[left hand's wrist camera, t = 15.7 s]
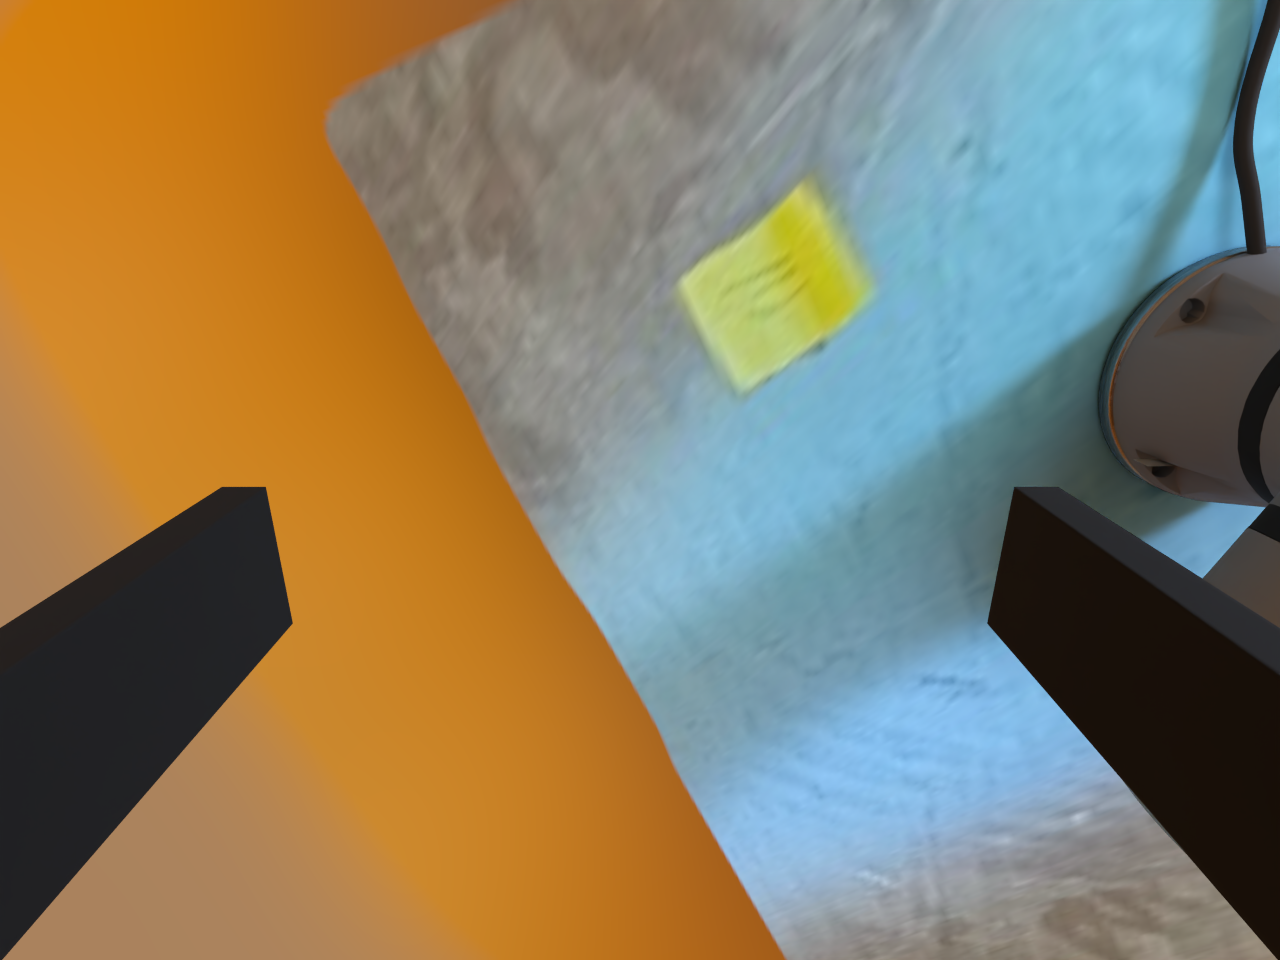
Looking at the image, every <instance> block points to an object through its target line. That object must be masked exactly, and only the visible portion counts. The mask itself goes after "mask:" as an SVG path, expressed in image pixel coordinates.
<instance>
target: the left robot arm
mask: <svg viewBox="0 0 1280 960" xmlns="http://www.w3.org/2000/svg"><path fill="white" fill-rule="evenodd" d="M1279 29H1280V0H1268V2H1267V5H1266V9H1265V13H1264V16H1263V20H1262V23H1261V26H1260V30H1259V33H1258V36H1257V39H1256V42H1255V45H1254V49H1253V52H1252V55H1251V58H1250V61H1249V64H1248V67H1247V71H1246V74H1245V78H1244V81H1243V85H1242V89H1241V93H1240V97H1239V102H1238V106H1237V112H1236V119H1235V127H1234V137H1233V154H1234V163H1235V169H1236V174H1237V179H1238V184H1239V189H1240V195H1241V202H1242V211H1243V220H1244V229H1245V238H1246V247H1242V248H1237V249H1232V250H1228V251H1224V252H1221V253H1218V254H1215V255H1212V256H1210V257H1208V258H1205V259H1203V260H1201V261H1198V262H1196V263H1195V264H1193V265H1191V266H1189V267H1187V268H1185V269H1184V270H1182V271H1180V272H1179V273H1177V274H1176V275H1174V276H1173V277H1171V278H1170V279H1169V280H1167V281H1166V282H1165V283H1163V284H1162V285H1161V286H1160V287H1159V288H1157V289H1156V290H1155V291H1154V292H1153V293H1152V294H1151V295H1150V296H1149V297H1148V298H1147V299H1146V300H1145V301H1144V302H1143V303H1142V304H1141V305H1140V306H1139V307H1138V308H1137V310H1136V311H1135V312H1134V313H1133V314H1132V316H1131V317H1130V318H1129V320H1128V321H1127V323H1126V324H1125V325H1124V327H1123V328H1122V330H1121V332H1120V333H1119V335H1118V337H1117V338H1116V340H1115V342H1114V344H1113V347H1112V349H1111V351H1110V353H1109V356H1108V358H1107V361H1106V364H1105V367H1104V370H1103V374H1102V379H1101V384H1100V391H1099V414H1100V422H1101V426H1102V430H1103V433H1104V436H1105V438H1106V441H1107V443H1108V445H1109V447H1110V449H1111V451H1112V452H1113V454H1114V455H1115V456H1116V458H1117V459H1118V460H1119V461H1120V463H1121V464H1122V465H1123V466H1124V467H1125V468H1126V469H1128V470H1129V471H1130V472H1131V473H1133V474H1134V475H1135V476H1137V477H1138V478H1140V479H1142V480H1144V481H1146V482H1148V483H1150V484H1152V485H1154V486H1156V487H1157V488H1159V489H1161V490H1164V491H1166V492H1169V493H1172V494H1175V495H1179V496H1182V497H1185V498H1189V499H1193V500H1199V501H1207V502H1217V503H1228V504H1238V505H1249V506H1259V507H1266V508H1265V509H1264V510H1263V511H1262V513H1261V514H1260V515H1259V516H1258V517H1257V518H1256V519H1255V520H1254V522H1253V523H1252V524H1251V525H1250V526H1249V527H1248V528H1247V529H1246V530H1245V531H1244V532H1243V533H1242V534H1241V536H1240V537H1239V538H1238V539H1237V540H1236V541H1235V542H1234V544H1233V545H1232V546H1231V547H1230V548H1229V549H1228V550H1227V552H1226V553H1225V554H1224V555H1223V556H1222V557H1221V558H1220V560H1219V561H1218V562H1217V563H1216V564H1215V565H1214V566H1213V568H1212V569H1211V570H1210V571H1209V572H1208V573H1207V574H1206V575H1205V576H1204V577H1203V579H1202V578H1200V577H1199V576H1197V575H1196V574H1194V573H1192V572H1191V571H1189V570H1188V569H1186V568H1185V567H1183V566H1181V565H1180V564H1178V563H1177V562H1175V561H1174V560H1172V559H1170V558H1169V557H1167V556H1166V555H1164V554H1163V553H1161V552H1159V551H1158V550H1156V549H1155V548H1153V547H1152V546H1150V545H1148V544H1147V543H1145V542H1144V541H1142V540H1141V539H1139V538H1137V537H1136V536H1134V535H1133V534H1131V533H1130V532H1128V531H1126V530H1125V529H1123V528H1122V527H1120V526H1119V525H1117V524H1115V523H1114V522H1112V521H1111V520H1109V519H1108V518H1106V517H1104V516H1103V515H1101V514H1100V513H1098V512H1097V511H1095V510H1093V509H1092V508H1090V507H1089V506H1087V505H1085V504H1084V503H1082V502H1081V501H1079V500H1078V499H1076V498H1074V497H1073V496H1071V495H1070V494H1068V493H1067V492H1065V491H1063V490H1062V489H1060V488H1059V487H1014V491H1013V496H1012V501H1011V506H1010V511H1009V516H1008V521H1007V526H1006V531H1005V536H1004V541H1003V547H1002V552H1001V557H1000V562H999V567H998V572H997V577H996V582H995V587H994V592H993V597H992V602H991V607H990V612H989V617H988V622H987V624H988V625H989V626H990V627H991V628H992V629H993V631H994V632H995V633H996V634H997V635H998V636H999V638H1000V639H1001V640H1002V641H1003V642H1004V643H1005V644H1006V646H1007V647H1008V648H1009V649H1010V650H1011V651H1012V653H1013V654H1014V655H1015V656H1016V657H1017V658H1018V659H1019V661H1020V662H1021V663H1022V664H1023V665H1024V666H1025V668H1026V669H1027V670H1028V671H1029V672H1030V673H1031V675H1032V676H1033V677H1034V678H1035V679H1036V680H1037V681H1038V683H1039V684H1040V685H1041V686H1042V687H1043V688H1044V690H1045V691H1046V692H1047V693H1048V694H1049V695H1050V697H1051V698H1052V699H1053V700H1054V701H1055V702H1056V703H1057V705H1058V706H1059V707H1060V708H1061V709H1062V710H1063V712H1064V713H1065V714H1066V715H1067V716H1068V717H1069V719H1070V720H1071V721H1072V722H1073V723H1074V724H1075V725H1076V727H1077V728H1078V729H1079V730H1080V731H1081V732H1082V734H1083V735H1084V736H1085V737H1086V738H1087V739H1088V741H1089V742H1090V743H1091V744H1092V745H1093V746H1094V747H1095V749H1096V750H1097V751H1098V752H1099V753H1100V754H1101V756H1102V757H1103V758H1104V759H1105V760H1106V761H1107V763H1108V764H1109V765H1110V766H1111V767H1112V768H1113V769H1114V771H1115V772H1116V773H1117V774H1118V775H1119V776H1120V778H1121V779H1122V780H1123V781H1124V783H1125V784H1126V785H1127V787H1128V788H1129V790H1130V791H1131V792H1132V794H1133V795H1134V796H1135V798H1136V799H1137V800H1138V801H1139V803H1140V804H1141V805H1142V806H1143V807H1144V809H1145V810H1146V811H1147V812H1148V813H1149V815H1150V816H1151V817H1152V818H1153V819H1154V820H1155V821H1156V823H1157V824H1158V825H1159V826H1160V827H1161V828H1162V829H1163V830H1164V831H1165V833H1166V834H1167V835H1168V836H1169V837H1170V838H1171V839H1172V840H1173V841H1174V842H1175V843H1176V844H1177V845H1178V846H1179V847H1180V848H1181V849H1182V850H1183V851H1184V852H1185V853H1186V854H1187V855H1188V856H1189V857H1190V859H1191V860H1192V861H1193V862H1194V863H1195V864H1196V866H1197V867H1198V868H1199V869H1200V870H1201V871H1202V873H1203V874H1204V875H1205V876H1206V877H1207V878H1208V879H1209V881H1210V882H1211V883H1212V884H1213V885H1214V886H1215V888H1216V889H1217V890H1218V891H1219V892H1220V893H1221V895H1222V896H1223V897H1224V898H1225V899H1226V900H1227V901H1228V903H1229V904H1230V905H1231V906H1232V907H1233V908H1234V910H1235V911H1236V912H1237V913H1238V914H1239V915H1240V917H1241V918H1242V919H1243V920H1244V921H1245V922H1246V923H1247V925H1248V926H1249V927H1250V928H1251V929H1252V930H1253V932H1254V933H1255V934H1256V935H1257V936H1258V937H1259V939H1260V940H1261V941H1262V942H1263V943H1264V944H1265V945H1266V947H1267V948H1268V949H1269V950H1270V951H1271V952H1272V954H1273V955H1274V956H1275V957H1276V958H1277V959H1278V960H1280V246H1266V240H1265V230H1264V221H1263V211H1262V202H1261V194H1260V187H1259V181H1258V176H1257V171H1256V166H1255V161H1254V154H1253V130H1254V120H1255V114H1256V108H1257V103H1258V98H1259V93H1260V90H1261V86H1262V82H1263V79H1264V75H1265V72H1266V69H1267V66H1268V62H1269V59H1270V56H1271V53H1272V50H1273V47H1274V44H1275V41H1276V38H1277V35H1278V32H1279ZM291 625H292V617H291V612H290V607H289V602H288V597H287V592H286V587H285V582H284V577H283V572H282V567H281V562H280V557H279V552H278V547H277V542H276V536H275V531H274V526H273V521H272V516H271V512H270V506H269V501H268V496H267V491H266V487H221V488H220V489H218V490H217V491H215V492H213V493H212V494H210V495H209V496H207V497H206V498H204V499H202V500H201V501H199V502H198V503H196V504H195V505H193V506H191V507H190V508H188V509H187V510H185V511H183V512H182V513H180V514H179V515H177V516H176V517H174V518H173V519H171V520H169V521H168V522H166V523H165V524H163V525H161V526H160V527H158V528H157V529H155V530H154V531H152V532H151V533H149V534H147V535H146V536H144V537H143V538H141V539H139V540H138V541H136V542H135V543H133V544H132V545H130V546H128V547H127V548H125V549H124V550H122V551H121V552H119V553H117V554H116V555H114V556H113V557H111V558H110V559H108V560H106V561H105V562H103V563H102V564H100V565H99V566H97V567H95V568H94V569H92V570H91V571H89V572H88V573H86V574H84V575H83V576H81V577H80V578H78V579H77V580H75V581H73V582H72V583H70V584H69V585H67V586H66V587H64V588H62V589H61V590H59V591H58V592H56V593H55V594H53V595H51V596H50V597H48V598H47V599H45V600H44V601H42V602H40V603H39V604H37V605H36V606H34V607H33V608H31V609H29V610H28V611H26V612H25V613H23V614H21V615H20V616H18V617H17V618H15V619H14V620H12V621H11V622H9V623H7V624H6V625H4V626H3V627H1V628H0V960H2V959H3V958H4V957H5V956H6V955H7V954H8V952H9V951H10V950H11V949H12V948H13V946H14V945H15V944H16V943H17V942H18V941H19V940H20V938H21V937H22V936H23V935H24V934H25V933H26V932H27V930H28V929H29V928H30V927H31V926H32V925H33V923H34V922H35V921H36V920H37V919H38V918H39V917H40V915H41V914H42V913H43V912H44V911H45V910H46V908H47V907H48V906H49V905H50V904H51V903H52V901H53V900H54V899H55V898H56V897H57V896H58V895H59V893H60V892H61V891H62V890H63V889H64V888H65V886H66V885H67V884H68V883H69V882H70V881H71V879H72V878H73V877H74V876H75V875H76V874H77V872H78V871H79V870H80V869H81V868H82V867H83V866H84V864H85V863H86V862H87V861H88V860H89V859H90V857H91V856H92V855H93V854H94V853H95V852H96V850H97V849H98V848H99V847H100V846H101V845H102V843H103V842H104V841H105V840H106V839H107V838H108V837H109V835H110V834H111V833H112V832H113V831H114V830H115V828H116V827H117V826H118V825H119V824H120V823H121V822H122V820H123V819H124V818H125V817H126V816H127V815H128V813H129V812H130V811H131V810H132V809H133V808H134V807H135V805H136V804H137V803H138V802H139V801H140V800H141V798H142V797H143V796H144V795H145V794H146V793H147V791H148V790H149V789H150V788H151V787H152V786H153V785H154V783H155V782H156V781H157V780H158V779H159V778H160V776H161V775H162V774H163V773H164V772H165V771H166V769H167V768H168V767H169V766H170V765H171V764H172V763H173V761H174V760H175V759H176V758H177V757H178V756H179V754H180V753H181V752H182V751H183V750H184V749H185V747H186V746H187V745H188V744H189V743H190V742H191V740H192V739H193V738H194V737H195V736H196V735H197V734H198V732H199V731H200V730H201V729H202V728H203V727H204V725H205V724H206V723H207V722H208V721H209V720H210V719H211V717H212V716H213V715H214V714H215V713H216V712H217V710H218V709H219V708H220V707H221V706H222V705H223V703H224V702H225V701H226V700H227V699H228V698H229V696H230V695H231V694H232V693H233V692H234V691H235V690H236V688H237V687H238V686H239V685H240V684H241V683H242V681H243V680H244V679H245V678H246V677H247V676H248V675H249V673H250V672H251V671H252V670H253V669H254V667H255V666H256V665H257V664H258V663H259V662H260V661H261V659H262V658H263V657H264V656H265V655H266V654H267V653H268V651H269V650H270V649H271V648H272V647H273V646H274V644H275V643H276V642H277V641H278V640H279V639H280V637H281V636H282V635H283V634H284V633H285V632H286V631H287V629H288V628H289V627H290V626H291Z"/></svg>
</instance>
